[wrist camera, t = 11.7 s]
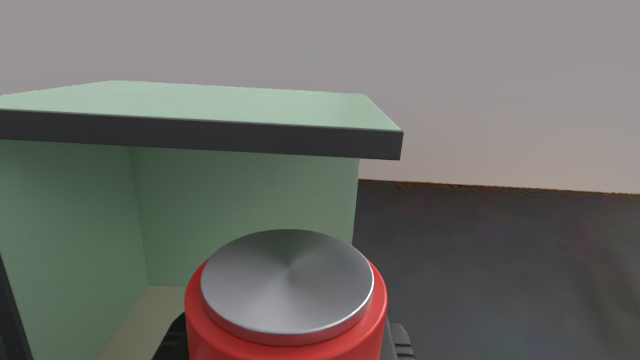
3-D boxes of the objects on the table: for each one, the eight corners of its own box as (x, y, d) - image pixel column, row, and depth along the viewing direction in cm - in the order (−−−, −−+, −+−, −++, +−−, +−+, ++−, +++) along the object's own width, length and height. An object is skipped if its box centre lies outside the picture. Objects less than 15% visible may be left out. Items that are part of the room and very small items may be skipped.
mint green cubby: (360, 444, 17) (404, 132, 11) (33, 430, 17) (-80, 105, 11) (345, 294, 27) (364, 94, 22) (144, 284, 27) (114, 80, 22)
